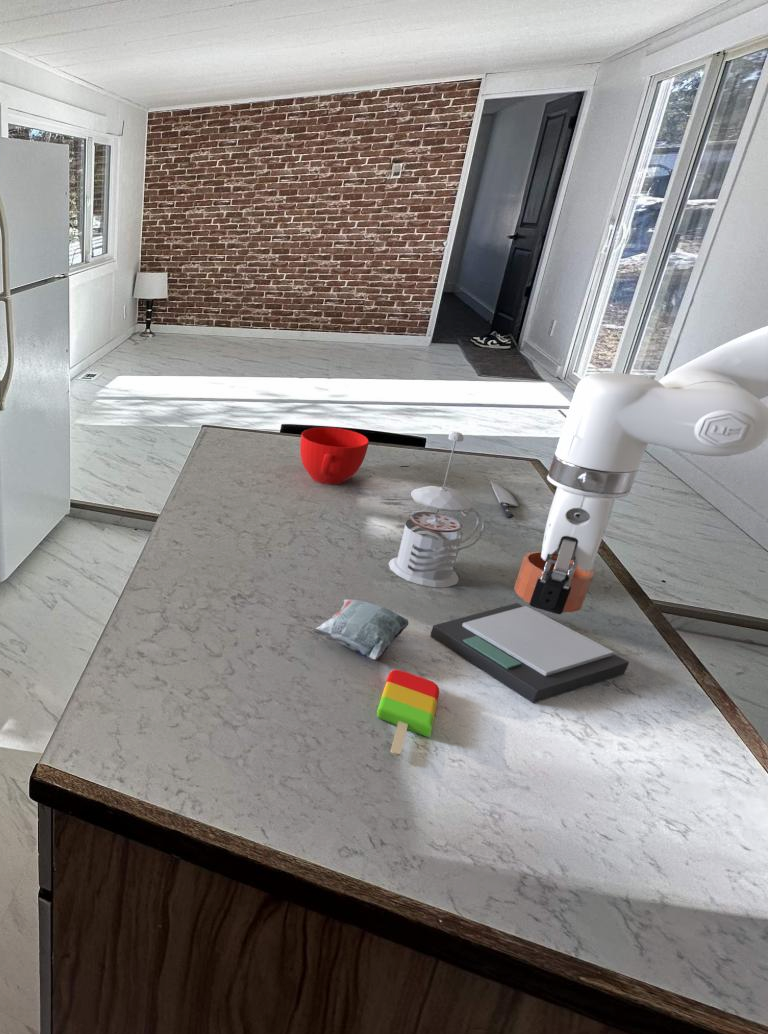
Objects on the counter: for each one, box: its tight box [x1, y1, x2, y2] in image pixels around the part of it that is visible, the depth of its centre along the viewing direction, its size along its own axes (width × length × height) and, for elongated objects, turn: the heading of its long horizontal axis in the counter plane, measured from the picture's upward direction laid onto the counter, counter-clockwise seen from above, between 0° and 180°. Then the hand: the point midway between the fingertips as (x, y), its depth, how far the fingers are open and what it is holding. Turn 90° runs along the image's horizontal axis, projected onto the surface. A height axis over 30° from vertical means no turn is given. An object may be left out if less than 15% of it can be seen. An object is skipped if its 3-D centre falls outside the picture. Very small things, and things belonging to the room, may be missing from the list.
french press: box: [388, 431, 485, 588], centre depth 103 cm, size 10×12×25 cm
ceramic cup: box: [299, 426, 369, 485], centre depth 140 cm, size 13×17×10 cm
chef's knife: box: [490, 481, 519, 519], centre depth 129 cm, size 19×1×3 cm
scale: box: [430, 602, 630, 704], centre depth 87 cm, size 16×14×3 cm
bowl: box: [513, 550, 595, 613], centre depth 84 cm, size 7×7×6 cm
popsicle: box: [376, 669, 440, 757], centre depth 78 cm, size 6×15×2 cm, turn 140°
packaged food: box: [311, 598, 409, 661], centre depth 92 cm, size 9×12×5 cm
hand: (548, 595), depth 85 cm, fingers closed on bowl, 7 cm apart
